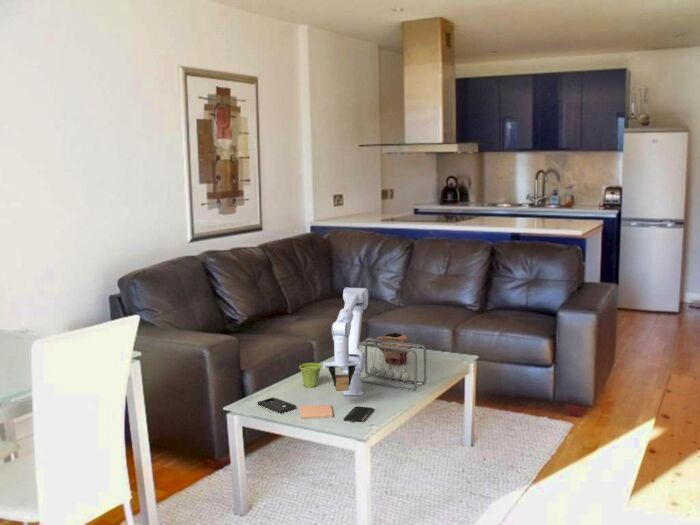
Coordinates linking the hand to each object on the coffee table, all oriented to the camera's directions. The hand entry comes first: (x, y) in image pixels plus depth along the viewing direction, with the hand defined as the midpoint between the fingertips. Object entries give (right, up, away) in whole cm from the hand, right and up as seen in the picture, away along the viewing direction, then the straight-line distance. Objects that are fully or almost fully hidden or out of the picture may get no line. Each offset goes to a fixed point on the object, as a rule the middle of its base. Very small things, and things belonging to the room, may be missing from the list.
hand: (341, 385), depth 285 cm
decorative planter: (+24, 0, +60) cm, 65 cm away
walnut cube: (0, -2, 0) cm, 2 cm away
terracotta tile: (-10, -10, -6) cm, 15 cm away
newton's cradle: (+20, -4, +29) cm, 36 cm away
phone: (+7, -10, -10) cm, 16 cm away
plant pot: (-14, -5, +27) cm, 31 cm away
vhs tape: (-26, -10, 0) cm, 27 cm away
